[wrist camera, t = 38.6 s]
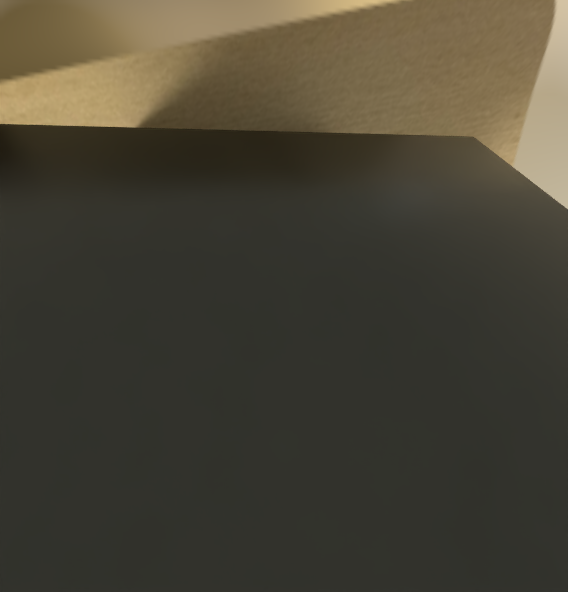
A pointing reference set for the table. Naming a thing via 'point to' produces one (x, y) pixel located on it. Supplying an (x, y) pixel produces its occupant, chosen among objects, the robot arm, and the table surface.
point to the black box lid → (279, 364)
